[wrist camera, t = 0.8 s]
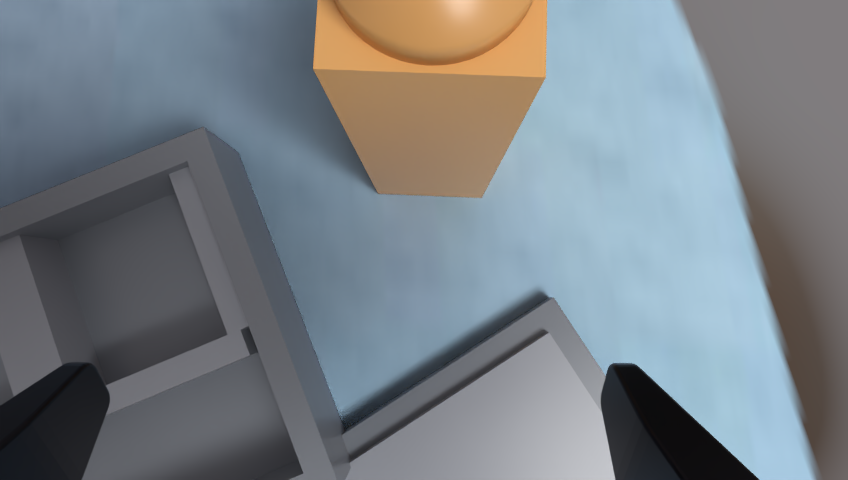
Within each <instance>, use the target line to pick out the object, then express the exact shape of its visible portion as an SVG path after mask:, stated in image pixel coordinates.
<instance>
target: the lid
mask: <svg viewBox="0 0 848 480" xmlns="http://www.w3.org/2000/svg"><path fill="white" fill-rule="evenodd" d="M605 378H606V376H605V374H604V373H603V371H602V370H601V368H600V367H599V365H598V364H597V362H596V361H595V359H594V358H593V356H592V355H591V353H590V352H589V350H588V349H587V347H586V346H585V344H584V343H583V341H582V340H581V338H580V337H579V335H578V334H577V332H576V331H575V329H574V328H573V326H572V325H571V323H570V322H569V320H568V319H567V317H566V316H565V314H564V313H563V311H562V309H561V308H560V306H559V305H558V303H557V302H556V300H555V299H554V298H552V297H549V298H547V299H546V300H544V301H543V302H541V303H540V304H538V305H537V306H535V307H534V308H532V309H531V310H529V311H527V312H526V313H524V314H523V315H521V316H520V317H518V318H517V319H515V320H514V321H512V322H511V323H509V324H507V325H506V326H504V327H503V328H501V329H500V330H498V331H497V332H495V333H494V334H492V335H491V336H489V337H487V338H486V339H484V340H483V341H481V342H480V343H478V344H477V345H475V346H474V347H472V348H470V349H469V350H467V351H466V352H464V353H463V354H461V355H460V356H458V357H457V358H455V359H454V360H452V361H450V362H449V363H447V364H446V365H444V366H443V367H441V368H440V369H438V370H437V371H435V372H434V373H432V374H430V375H429V376H427V377H426V378H424V379H423V380H421V381H420V382H418V383H417V384H415V385H414V386H412V387H410V388H409V389H407V390H406V391H404V392H403V393H401V394H400V395H398V396H397V397H395V398H394V399H392V400H390V401H389V402H387V403H386V404H384V405H383V406H381V407H380V408H378V409H377V410H375V411H374V412H372V413H370V414H369V415H367V416H366V417H364V418H363V419H361V420H360V421H358V422H357V423H355V424H354V425H352V426H350V427H349V428H347V429H346V430H345V431H344V432H343V434H342V438H343V440H344V443H345V446H346V448H347V451H348V453H349V456H350V459H351V461H350V466H351V469H350V471H349V473H348V475H347V477H346V480H615V475H614V470H613V465H612V460H611V455H610V450H609V445H608V440H607V435H606V430H605V425H604V420H603V415H602V410H601V392H602V388H603V385H604V381H605Z"/></svg>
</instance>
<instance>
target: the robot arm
mask: <svg viewBox="0 0 848 480" xmlns="http://www.w3.org/2000/svg"><path fill="white" fill-rule="evenodd" d="M109 404H110V394H109V391H108V389H107V387H106V385H105V383H104V381H103V379H102V377H101V376H100V374H99V372H98V370H97V368H96V367H95V365H93V364H92V363H89V362H70V363H66V364H63V365H62V366H60V367H58V368H57V369H55V370H54V371H52V372H51V373H49V374H48V375H46V376H45V377H43V378H41V379H40V380H38V381H37V382H35V383H34V384H32V385H31V386H29V387H28V388H26V389H25V390H23V391H22V392H20V393H19V394H17V395H15V396H14V397H12V398H11V399H9V400H8V401H6V402H5V403H3V404H2V405H0V480H82V478H83V476H84V473H85V470H86V468H87V465H88V462H89V459H90V457H91V454H92V451H93V449H94V446H95V443H96V440H97V438H98V435H99V432H100V430H101V427H102V424H103V422H104V419H105V416H106V413H107V411H108V408H109ZM601 410H602V415H603V420H604V425H605V430H606V435H607V440H608V445H609V450H610V455H611V460H612V465H613V470H614V475H615V480H759V479H758V478H757V477H756V476H755V475H754V474H753V473H752V472H751V471H750V470H748V469H747V468H746V467H745V466H744V465H743V464H742V463H741V462H740V461H739V460H738V459H737V458H736V457H735V456H733V455H732V454H731V453H730V452H729V451H728V450H727V449H726V448H725V447H724V446H723V445H722V444H721V443H720V442H719V441H717V440H716V439H715V438H714V437H713V436H712V435H711V434H710V433H709V432H708V431H707V430H706V429H705V428H704V427H703V426H701V425H700V424H699V423H698V422H697V421H696V420H695V419H694V418H693V417H692V416H691V415H690V414H689V413H688V412H687V411H685V410H684V409H683V408H682V407H681V406H680V405H679V404H678V403H677V402H676V401H675V400H674V399H673V398H672V397H670V396H669V395H668V394H667V393H666V392H665V391H664V390H663V389H662V388H661V387H660V386H659V385H658V384H657V383H656V382H654V381H653V380H652V379H651V378H650V377H649V376H648V375H647V374H646V373H645V372H644V371H643V370H642V369H641V368H640V367H638V366H637V365H635V364H632V363H613V364H611V365H610V366H609V368H608V370H607V374H606V378H605V381H604V385H603V388H602V392H601Z"/></svg>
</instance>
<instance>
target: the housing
mask: <svg viewBox="0 0 848 480" xmlns="http://www.w3.org/2000/svg"><path fill="white" fill-rule="evenodd" d="M70 362H89V363H92V364H93V365H95V367H96V368H97V370H98V372H99V374H100V376H101V377H102V379H103V381H104V383H105V385H106V387H107V389H108V391H109V394H110V404H109V408H108V411H107V413H106V416H105V419H104V422H103V424H102V427H101V430H100V432H99V435H98V438H97V440H96V443H95V446H94V449H93V451H92V454H91V457H90V459H89V462H88V465H87V468H86V470H85V473H84V476H83V478H82V480H346V477H347V475H348V473H349V471H350V469H351V466H350V461H351V459H350V456H349V453H348V451H347V448H346V446H345V443H344V440H343V438H342V434H343V432H344V431H345V429H344V426H343V424H342V421H341V419H340V416H339V413H338V411H337V408H336V406H335V403H334V400H333V398H332V395H331V393H330V390H329V387H328V385H327V382H326V380H325V377H324V374H323V372H322V369H321V367H320V364H319V361H318V359H317V356H316V354H315V351H314V348H313V346H312V343H311V341H310V338H309V335H308V333H307V330H306V327H305V325H304V322H303V320H302V317H301V314H300V312H299V309H298V307H297V304H296V301H295V299H294V296H293V294H292V291H291V288H290V286H289V283H288V281H287V278H286V275H285V273H284V270H283V268H282V265H281V262H280V260H279V257H278V255H277V252H276V249H275V247H274V244H273V242H272V239H271V236H270V234H269V231H268V229H267V226H266V223H265V221H264V218H263V216H262V213H261V210H260V208H259V205H258V203H257V200H256V197H255V195H254V192H253V190H252V187H251V184H250V182H249V179H248V177H247V174H246V171H245V169H244V166H243V164H242V161H241V158H240V156H239V153H238V152H237V151H236V150H234V149H233V148H232V147H230V146H229V145H227V144H226V143H225V142H223V141H222V140H221V139H219V138H218V137H217V136H215V135H214V134H212V133H211V132H210V131H208V130H207V129H206V128H204V127H201V128H199V129H196V130H194V131H191V132H189V133H186V134H184V135H181V136H179V137H177V138H174V139H172V140H169V141H167V142H164V143H162V144H159V145H157V146H154V147H152V148H149V149H147V150H144V151H142V152H139V153H137V154H134V155H132V156H129V157H127V158H124V159H122V160H119V161H117V162H114V163H112V164H109V165H107V166H104V167H102V168H99V169H97V170H94V171H92V172H89V173H87V174H84V175H82V176H79V177H77V178H74V179H72V180H69V181H67V182H64V183H62V184H60V185H57V186H55V187H52V188H50V189H47V190H45V191H42V192H40V193H37V194H35V195H32V196H30V197H27V198H25V199H22V200H20V201H17V202H15V203H12V204H10V205H7V206H5V207H2V208H0V405H2V404H3V403H5V402H6V401H8V400H9V399H11V398H12V397H14V396H15V395H17V394H19V393H20V392H22V391H23V390H25V389H26V388H28V387H29V386H31V385H32V384H34V383H35V382H37V381H38V380H40V379H41V378H43V377H45V376H46V375H48V374H49V373H51V372H52V371H54V370H55V369H57V368H58V367H60V366H62V365H63V364H66V363H70Z"/></svg>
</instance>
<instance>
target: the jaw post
mask: <svg viewBox="0 0 848 480" xmlns="http://www.w3.org/2000/svg"><path fill="white" fill-rule="evenodd" d="M546 32H547V0H318V3H317V18H316V33H315V47H314V62H313V70H314V72H315V74H316V76H317V77H318V79H319V81H320V83H321V85H322V87H323V89H324V91H325V93H326V95H327V97H328V99H329V100H330V102H331V104H332V106H333V108H334V110H335V112H336V114H337V116H338V118H339V120H340V122H341V123H342V125H343V127H344V129H345V131H346V133H347V135H348V137H349V139H350V141H351V143H352V144H353V146H354V148H355V150H356V152H357V154H358V156H359V158H360V160H361V162H362V164H363V166H364V167H365V169H366V171H367V173H368V175H369V177H370V179H371V181H372V183H373V185H374V187H375V188H376V190H377V192H378V194H397V195H422V196H447V197H471V198H482V196H483V194H484V192H485V191H486V189H487V187H488V185H489V183H490V181H491V179H492V177H493V175H494V174H495V172H496V170H497V168H498V166H499V164H500V162H501V160H502V159H503V157H504V155H505V153H506V151H507V149H508V147H509V145H510V143H511V142H512V140H513V138H514V136H515V134H516V132H517V130H518V128H519V127H520V125H521V123H522V121H523V119H524V117H525V115H526V113H527V111H528V110H529V108H530V106H531V104H532V102H533V100H534V98H535V96H536V94H537V93H538V91H539V89H540V87H541V85H542V83H543V81H544V79H545V78H546Z"/></svg>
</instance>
